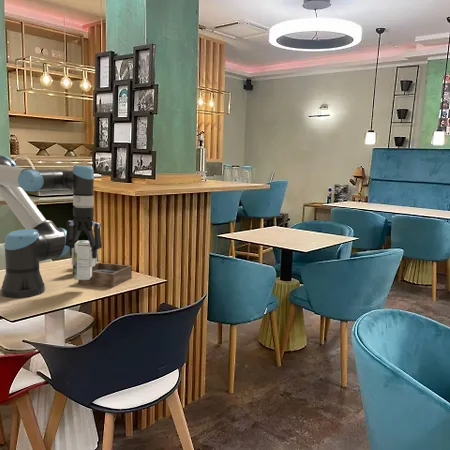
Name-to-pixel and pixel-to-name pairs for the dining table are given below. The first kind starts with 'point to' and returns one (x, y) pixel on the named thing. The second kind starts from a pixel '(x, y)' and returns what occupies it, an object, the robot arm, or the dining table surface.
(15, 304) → the dining table surface
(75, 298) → the dining table surface
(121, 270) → the socket crate
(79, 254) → the syrup box
